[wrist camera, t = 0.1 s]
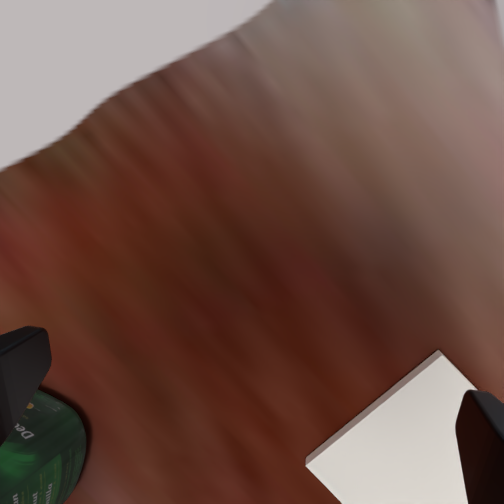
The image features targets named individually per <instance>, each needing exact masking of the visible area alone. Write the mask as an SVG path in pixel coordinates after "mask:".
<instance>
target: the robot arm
mask: <svg viewBox="0 0 504 504" xmlns="http://www.w3.org/2000/svg"><path fill="white" fill-rule="evenodd" d="M51 360H52V357H51V351H50V344H49V337H48V332H47V331H46V329H44V328H41V327H34V326H25V327H22V328H19V329H16V330H13V331H11V332H8V333H5V334H2V335H0V447H1V446H2V445H3V443H4V442H5V440H6V439H7V438H8V436H9V435H10V433H11V432H12V430H13V429H14V427H15V426H16V424H17V423H18V421H19V420H20V418H21V416H22V415H23V413H24V411H25V410H26V408H27V406H28V404H29V403H30V401H31V399H32V398H33V396H34V394H35V393H36V391H37V389H38V387H39V386H40V384H41V382H42V381H43V379H44V377H45V376H46V374H47V372H48V371H49V368H50V366H51ZM455 433H456V439H457V445H458V451H459V456H460V462H461V468H462V473H463V479H464V485H465V490H466V496H467V501H468V504H504V404H503V403H502V402H501V401H500V400H498V399H497V398H496V397H495V396H494V395H492V394H491V393H489V392H486V391H479V390H472V389H469V390H467V391H466V392H465V393H464V396H463V399H462V402H461V405H460V409H459V412H458V415H457V419H456V423H455Z"/></svg>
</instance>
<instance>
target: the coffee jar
mask: <svg viewBox="0 0 504 504" xmlns="http://www.w3.org/2000/svg"><path fill="white" fill-rule="evenodd" d="M85 452H86V433H85V429H84V426H83V423H82V421H81V419H80V417H79V416H78V414H77V413H76V412H75V411H74V410H73V409H72V408H71V407H70V406H68V405H67V404H65V403H64V402H62V401H60V400H58V399H56V398H54V397H53V396H51V395H49V394H47V393H44V392H42V391H40V390H38V389H37V391H36V393H35V394H34V396H33V398H32V399H31V401H30V403H29V404H28V406H27V408H26V410H25V411H24V413H23V415H22V416H21V418H20V420H19V421H18V423H17V424H16V426H15V427H14V429H13V430H12V432H11V433H10V435H9V436H8V438H7V439H6V440H5V442H4V443H3V445H2V446H1V447H0V504H63V503H64V502H65V501H66V500H67V499H68V497H69V496H70V494H71V493H72V491H73V490H74V488H75V486H76V484H77V481H78V478H79V475H80V472H81V469H82V466H83V462H84V458H85Z"/></svg>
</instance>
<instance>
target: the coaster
mask: <svg viewBox="0 0 504 504" xmlns="http://www.w3.org/2000/svg"><path fill="white" fill-rule="evenodd" d="M469 389H472V390H477V389H476V387H475V386H474V385H473V384H472V383H471V382H470V381H469V380H468V379H467V378H466V377H465V376H464V375H463V374H462V373H461V372H460V371H459V370H458V369H457V368H456V367H455V366H454V365H453V364H452V363H451V362H450V361H449V360H448V359H447V358H446V357H445V356H444V355H443V354H442V353H441V352H440V350H439V349H438V350H437V351H436V352H435V353H434V354H432V355H431V356H430V357H429V358H427V359H426V360H425V361H424V362H422V363H421V364H420V365H419V366H418V367H416V368H415V369H414V370H413V371H411V372H410V373H409V374H408V375H406V376H405V377H404V378H403V379H402V380H400V381H399V382H398V383H397V384H395V385H394V386H393V387H392V388H391V389H389V390H388V391H387V392H386V393H384V394H383V395H382V396H381V397H379V398H378V399H377V400H376V401H375V402H373V403H372V404H371V405H370V406H368V407H367V408H366V409H365V410H364V411H362V412H361V413H360V414H359V415H357V416H356V417H355V418H354V419H352V420H351V421H350V422H349V423H348V424H346V425H345V426H344V427H343V428H341V429H340V430H339V431H338V432H337V433H335V434H334V435H333V436H332V437H330V438H329V439H328V440H327V441H325V442H324V443H323V444H322V445H321V446H319V447H318V448H317V449H316V450H314V451H313V452H312V453H311V454H310V455H308V456H307V457H306V467H307V468H308V469H309V470H310V471H311V472H312V473H313V474H314V475H315V476H316V477H317V478H318V479H319V480H320V481H321V482H322V483H323V484H324V485H325V486H326V487H327V488H328V489H329V490H330V492H331V493H332V494H333V495H334V496H335V497H336V498H337V499H338V500H339V501H340V502H341V503H342V504H468V501H467V496H466V490H465V485H464V479H463V473H462V468H461V462H460V456H459V451H458V445H457V439H456V433H455V423H456V419H457V415H458V412H459V409H460V405H461V402H462V399H463V396H464V393H465V392H466V391H467V390H469Z"/></svg>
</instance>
